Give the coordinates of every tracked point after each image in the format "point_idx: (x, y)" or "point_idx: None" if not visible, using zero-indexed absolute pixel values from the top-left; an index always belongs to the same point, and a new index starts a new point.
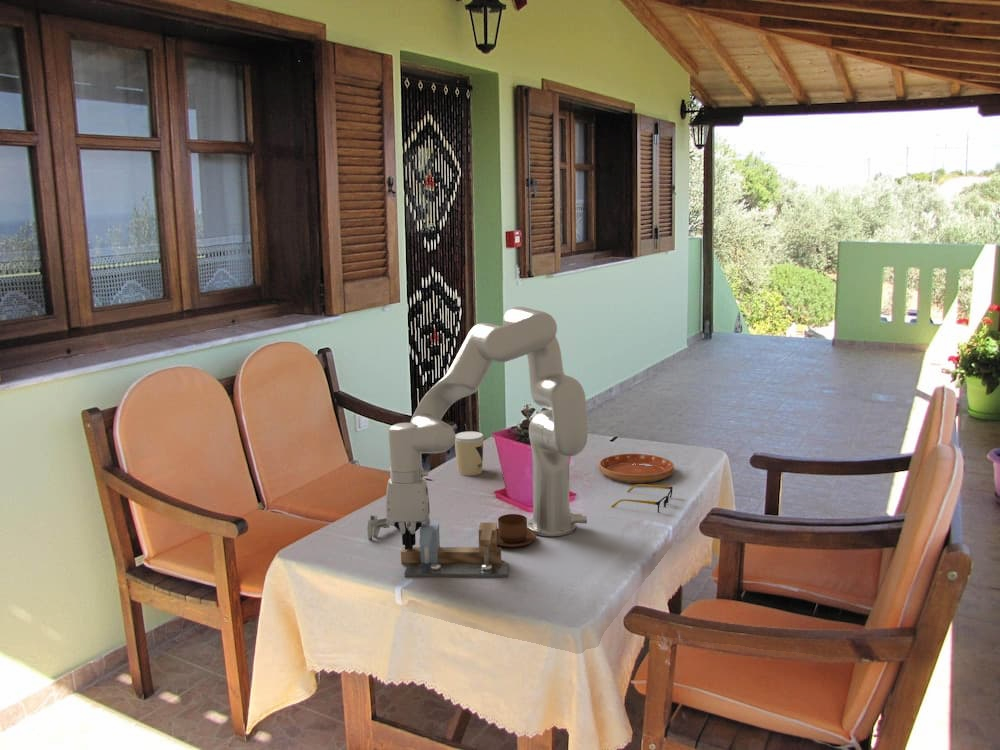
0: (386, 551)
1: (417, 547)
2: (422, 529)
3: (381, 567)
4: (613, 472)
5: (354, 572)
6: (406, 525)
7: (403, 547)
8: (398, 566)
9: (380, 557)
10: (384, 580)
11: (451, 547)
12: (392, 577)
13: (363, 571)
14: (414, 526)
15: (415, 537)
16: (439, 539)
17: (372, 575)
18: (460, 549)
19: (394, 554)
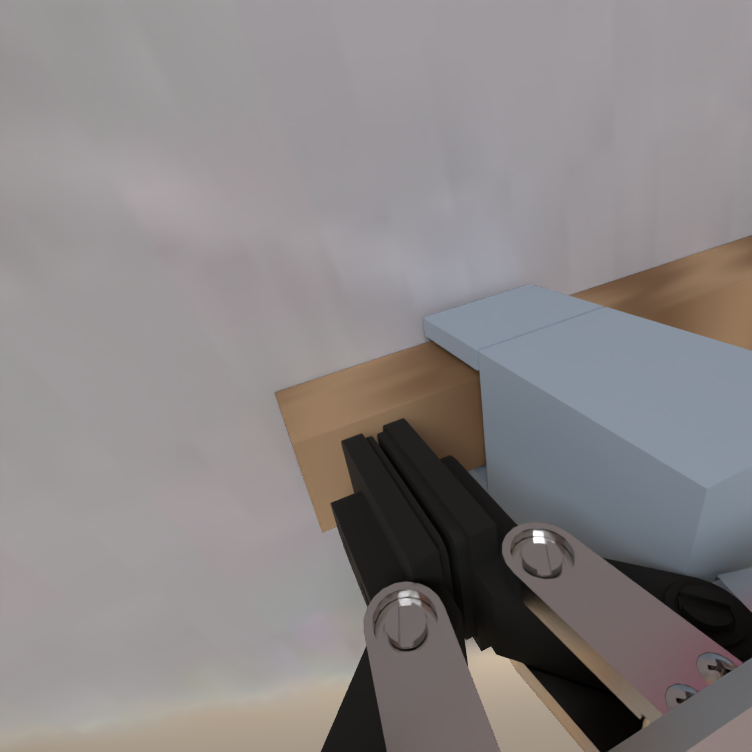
0: (3, 296)
1: (429, 402)
2: None
3: (191, 570)
4: None
5: (43, 703)
6: (459, 650)
7: (305, 452)
8: (301, 509)
9: (52, 441)
10: (305, 663)
11: (669, 310)
12: (331, 622)
13: (100, 664)
14: (625, 716)
15: (478, 483)
16: (647, 327)
17: (202, 665)
18: (718, 327)
19: (146, 340)
